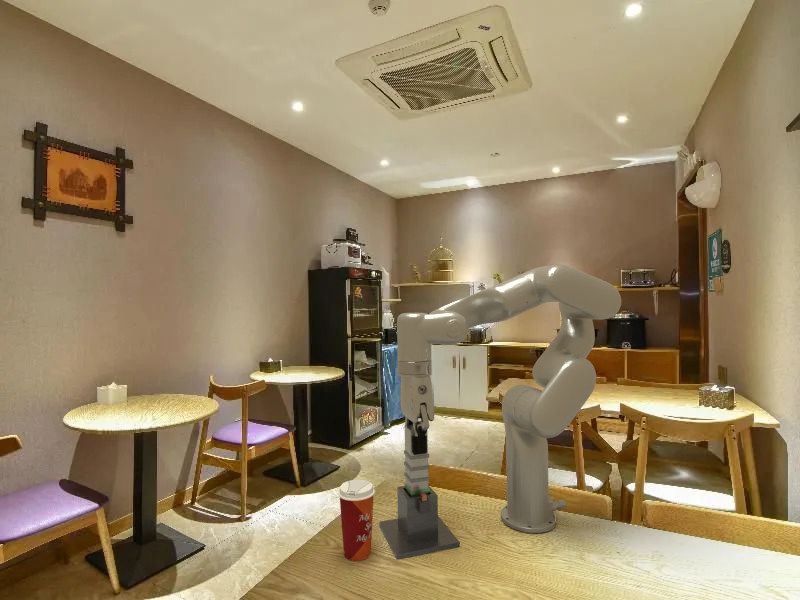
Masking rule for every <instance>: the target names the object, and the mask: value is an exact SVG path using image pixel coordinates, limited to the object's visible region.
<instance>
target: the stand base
mask: <svg viewBox="0 0 800 600" xmlns="http://www.w3.org/2000/svg"><path fill="white" fill-rule="evenodd" d="M428 487H429V488H430V492H429V495H426V494H425V493H424V494H421V496H416V497H409V496H408V494H407V493H406V488H405V486H404V485H403V486H397V487H396V488H397V489H396V490H397V492H396V493H397V518H393V519H388V520H382V521H381V520H380V521H379V523H378V524H379V528H380V530H381V532H382V533H383V536H384V538H385V539H386V542H387V543H388V545H389V548H390V549H391V551H392V553H393V556H394V557H395V559H396V560H402V559H407V558H412V557H416V556H422V555H426V554H432V553H437V552H442V551H447V550H450V549H455V548H457V549H458V548H460V547H461V542H460V541H459V539H458V538H457V536H455V534H454V533H453V532H452V531H451V529H449V527H448V526H447V525H446V523H445V522H444V521H443V520H442V519H441V517H440V516H439V510H438V509H439V508H438V507H439V504H438V502H439V500H438V499H439V497H438V494H437V493H436V492H435V491H434V490H433V489H432V487H431V486H430V485H429V484H428Z"/></svg>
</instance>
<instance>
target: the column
mask: <svg viewBox="0 0 800 600" xmlns="http://www.w3.org/2000/svg"><path fill="white" fill-rule="evenodd" d="M419 426H421V424H418V425H417V429H418V427H419ZM428 434H429V433H428V430H427V453H426V454H419V455H414V454H413V446H412V436H414V430H413V425H405V424H404V449H403V455H404V462H403V465H404V466H405V467H404V468H405V469H404V470H405V472H404V473H403V475H404V477H405V483H404V485H403V486H405V488H406V493H407V494H408V496H409V497H416V496H421V494H424V493H425V494H426V495H429V492H430V488H429V487H428V485H429V482H430V476H429V470H430V465H429V458H430V453H429V448H428V447H429V444H428V442H429V439H428Z"/></svg>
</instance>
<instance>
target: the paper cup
mask: <svg viewBox="0 0 800 600" xmlns="http://www.w3.org/2000/svg"><path fill="white" fill-rule="evenodd" d="M375 493H376V489H375V487H374V485H373V484H372V482H370V481H368V480H366V479H351V480H347V481H344V482H343V483H342V484H340V487H339V490H338V492H337V495H338V497H339V505H340V507H339V508H340V520H341V530H342V544H343V545H342V547H343V553H344V557H345V558H346V559H347V560H348V561H353V562H356V561H357V562H359V561H364V560H366V559H368V558H369V557H370V555H371V554H372V553H371V552H372V541H373V539H372V538H373V520H374V519H373V514H374V511H373V510H374V495H375Z"/></svg>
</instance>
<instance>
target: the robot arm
mask: <svg viewBox="0 0 800 600" xmlns="http://www.w3.org/2000/svg"><path fill="white" fill-rule="evenodd" d="M546 303H558V309H559V313H560V318H561V322H560V323H561V324H560V329H559V330H558V332H557V334H556V335H555V337H554V338H553V340H552V341H551V342H550V344H549V345H548V346H547V347H546V348H545V350H544V351H543V352H542V354H541V355H540V356H539V357H538V359H537V360H536V362H535V363H534V364H533V368H532V379H533V380H534V382H535V383H536V384H538V386H540V387H542V388H543V389H539V388H536V387H533V386H530V385H526V384H516V385H514V386H512V387H510V388H509V389H508V390H506V392H505V393H504V395H503V398H502V401H501V402H502V403H501V410H502V411H501V414H502V418H503V419H502V420H503V425H504V432H505V450H506V451H505V455H506V458H505V459H506V460H505V461H506V505H505V506H503V507H502V509H501V510H500V519H501V521H502V522H503V523H504V524H505V525H506V526H507V527H510V529H513V530H516V531H518V532H521V533H522V532H523V533H530V534H540V533H542V534H543V533H546V532H549V531H551V530H553V529H554V528H555V527H556V525H557V517H556V515H555V514H554V512H556V511H557V510H563V509H566V508H567V502H566V501H565V499H558V500H556V499H555V497H553V496H551V497H549V496H550V495H549V494H550V493H549V489H550V487H549V446H548V445H549V443H548V440H547V439H552V438H555V437H557V436H559V435H561V434H562V433H563V432H564V431H565V430H566V429H567V428H568V427H569V425H570V424H571V423H572V421H573V420H574V418H575V417H576V416H577V414H578V413H579V412H580V411H581V409H582V407H584V405H585V404H586V402H587V401H588V400H589V398H590V397H591V395H592V394H593V392H594V389H595V386H596V382H597V373H596V370H595V369H596V368H595V367H594V365H593V363H592V362H591V361H590V360H589V359H587V357H588V356H589V354H590V353H591V351H592V349H593V348H594V345H595V341H596V340H595V339H596V336H595V335H596V334H595V327H594V322H593V320H600V321H601V320H602V321H603V320H608V319H611V318H612V317H615V315H617V314H618V313H619V310H620V309H621V306H622V297H621V294H620V292H619V290H618V288H617V287H615V286H614V285H613V284H612V283H610V282H608V281H605V280H604V279H601V278H598V277H596V276H593V275H591V274H589V273H586V272H584V271H582V270H579V269H577V268H575V267H572V266H568V265H566V264H559V263H558V264H551V265H550V264H549V265H544V266H538V267H535V268H531V269H530V270H527V271H525V272H523V273H521V274H518V275H517V276H513V277H511V278H509V279H507V280H505V281H503V282H500V283H498V284H496V285H493V286H491V287H488V288H486V289H483V290H480V291H478V292H476V293H473V294H470V295H468V296H465V297H463V298H460V299H457V300H455V301H453V302H450V303H448V304H445V305H443V306H440V307H438V308H436V309H434V310H433V311H431V312H430V313H429V314H428V313H426V312H404V313H401V314H399V315H398V316H397V320H396V321H397V322H396V328H397V330H396V332H397V334H396V335H397V337H396V339H397V376H399V377H400V391H399V392H400V398H399V399H400V400H399V401H400V411H401V414H402V415H403V416H404V421H405V422H404V426H405V425H413V430H414V436H412V446H413V454H414V455H419V454H426V453H427V431H428V429H430V422H433V421H435V403H434V389H433V384H432V377H431V376H432V375H433V374H432V373H433V369H432V368H433V367H432V365H433V364H432V344H433V345H443V346H453V345H459V344H460V343H462V342H463V341H464V340H465V339H466V338H467V336H468V334H469V329H470V328H474V327H476V326H480V325H484V324H485V325H486V324H496V323H500V322H504V321H508V320H510V319H513V318H515V317H517V316H519V315H521V314H523V313H526V312H528V311H530V310H532V309H534V308H536V307H538V306H541V305H543V304H546ZM419 419H420V420H419ZM418 424H421V426H419V427H418V429H417V425H418Z"/></svg>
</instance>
